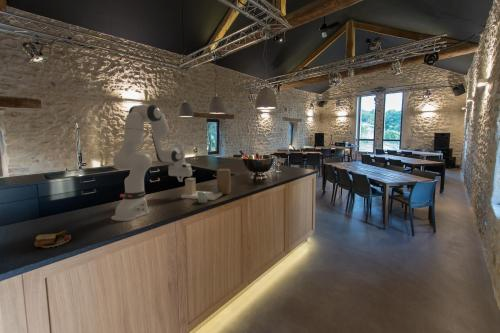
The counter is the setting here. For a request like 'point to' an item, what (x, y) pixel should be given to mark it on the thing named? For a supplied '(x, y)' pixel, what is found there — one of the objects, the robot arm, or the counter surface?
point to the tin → (215, 190)
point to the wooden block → (224, 180)
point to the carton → (190, 185)
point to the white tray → (195, 196)
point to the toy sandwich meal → (51, 240)
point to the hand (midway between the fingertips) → (180, 181)
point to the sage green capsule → (202, 196)
